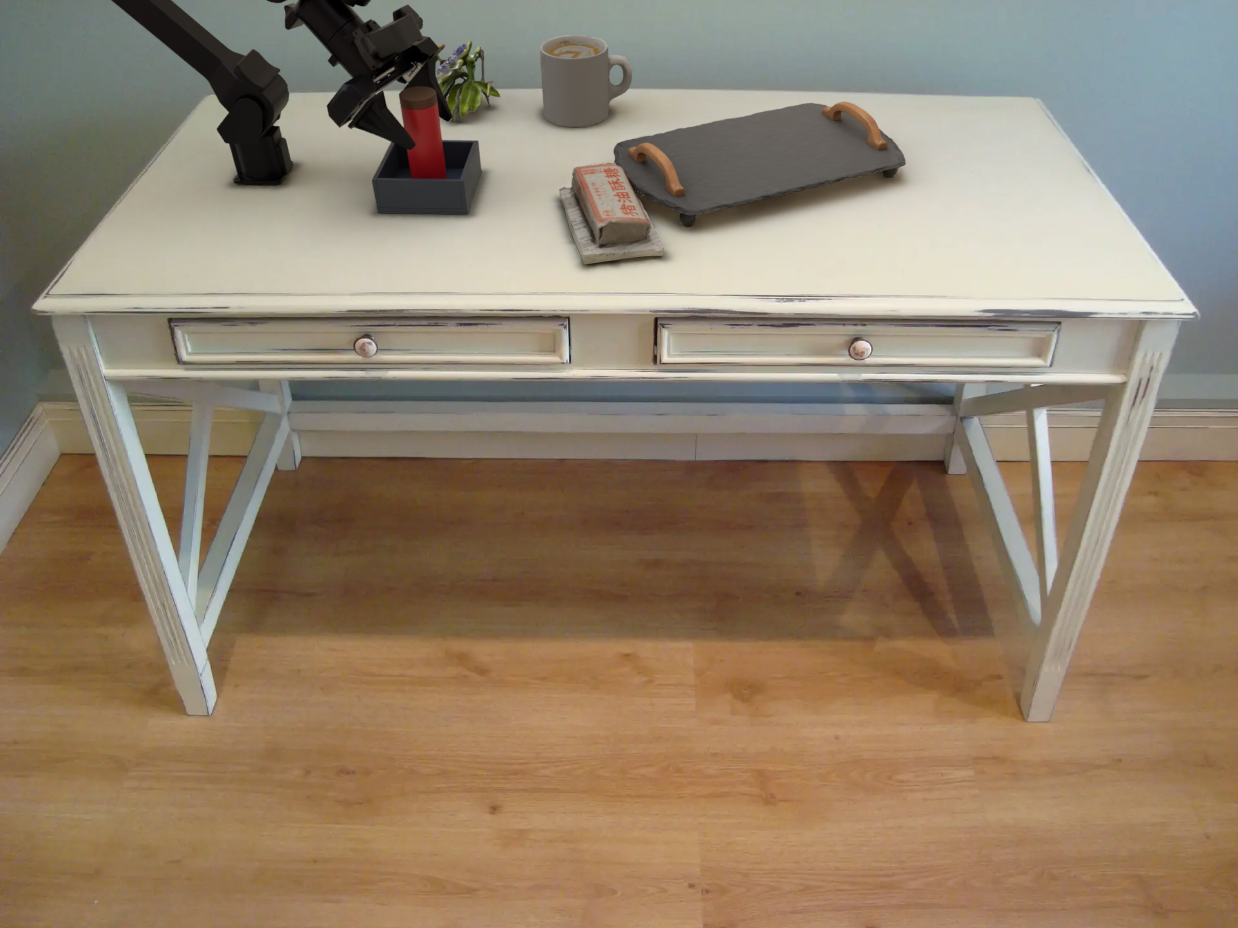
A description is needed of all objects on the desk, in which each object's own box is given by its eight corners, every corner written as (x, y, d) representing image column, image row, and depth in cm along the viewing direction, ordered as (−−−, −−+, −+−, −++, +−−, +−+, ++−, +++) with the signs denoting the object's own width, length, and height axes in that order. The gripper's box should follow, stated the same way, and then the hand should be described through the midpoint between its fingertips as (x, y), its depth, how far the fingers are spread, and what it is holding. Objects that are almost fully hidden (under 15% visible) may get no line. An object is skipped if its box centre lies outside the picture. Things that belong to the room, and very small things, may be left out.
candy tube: (409, 194, 134) (395, 100, 126) (416, 178, 137) (403, 86, 129) (444, 195, 134) (432, 101, 125) (450, 179, 137) (439, 86, 129)
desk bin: (377, 213, 132) (371, 180, 129) (397, 171, 141) (392, 139, 138) (467, 214, 131) (463, 181, 128) (481, 172, 140) (478, 140, 137)
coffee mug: (541, 127, 152) (537, 58, 145) (546, 100, 159) (542, 34, 152) (631, 127, 151) (631, 59, 145) (632, 101, 159) (632, 35, 152)
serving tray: (668, 240, 126) (669, 193, 122) (592, 165, 142) (591, 122, 138) (924, 178, 138) (933, 133, 134) (827, 115, 154) (833, 74, 150)
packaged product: (556, 164, 131) (632, 156, 133) (558, 198, 134) (631, 191, 136) (581, 230, 118) (665, 221, 119) (583, 267, 121) (664, 258, 123)
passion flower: (446, 137, 162) (435, 60, 161) (512, 126, 160) (501, 47, 159) (422, 122, 151) (410, 39, 150) (493, 110, 149) (481, 25, 148)
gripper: (328, 14, 114) (427, 124, 118) (416, -32, 127) (502, 69, 131) (286, 75, 122) (380, 177, 126) (373, 25, 135) (455, 119, 139)
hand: (432, 133), depth 130 cm, fingers open, 9 cm apart
